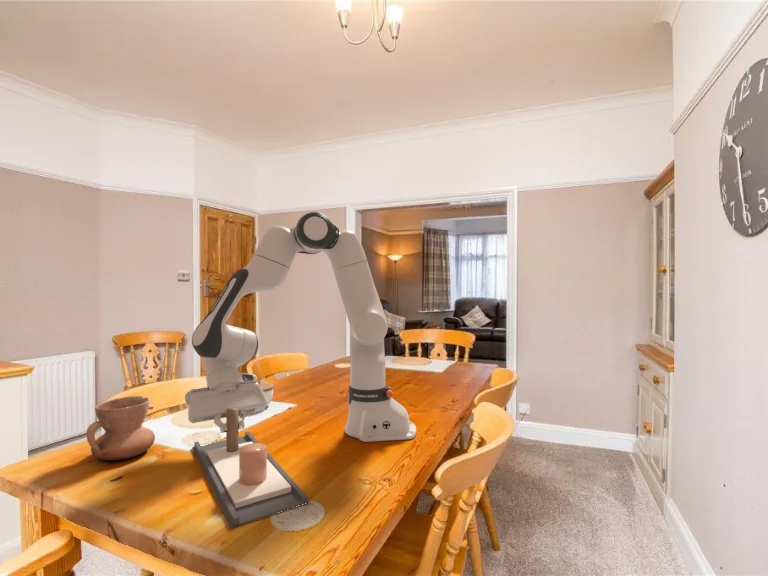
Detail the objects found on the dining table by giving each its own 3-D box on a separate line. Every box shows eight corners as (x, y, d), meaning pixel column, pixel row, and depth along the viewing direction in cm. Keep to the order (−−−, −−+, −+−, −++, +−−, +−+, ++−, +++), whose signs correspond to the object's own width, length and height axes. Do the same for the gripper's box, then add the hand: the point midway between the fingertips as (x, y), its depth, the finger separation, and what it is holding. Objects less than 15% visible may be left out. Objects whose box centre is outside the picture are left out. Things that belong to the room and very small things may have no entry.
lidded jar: (237, 408, 149) (237, 383, 148) (256, 400, 158) (256, 377, 158) (261, 412, 145) (261, 386, 144) (279, 404, 154) (279, 379, 154)
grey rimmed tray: (192, 448, 113) (192, 442, 113) (250, 436, 122) (250, 431, 122) (231, 528, 77) (231, 520, 77) (309, 503, 86) (309, 495, 86)
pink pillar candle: (269, 472, 95) (270, 443, 95) (262, 485, 89) (262, 454, 89) (244, 472, 95) (244, 443, 95) (235, 485, 89) (235, 453, 89)
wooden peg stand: (206, 455, 107) (206, 409, 107) (251, 445, 114) (251, 402, 114) (234, 508, 83) (234, 449, 82) (291, 491, 89) (291, 436, 89)
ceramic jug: (135, 438, 120) (134, 390, 120) (171, 445, 115) (169, 396, 114) (69, 464, 104) (67, 409, 103) (106, 475, 98) (104, 416, 98)
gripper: (185, 384, 108) (191, 432, 100) (261, 374, 119) (272, 416, 111) (182, 396, 112) (188, 444, 104) (257, 386, 123) (267, 428, 115)
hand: (233, 429), depth 108 cm, fingers closed on wooden peg stand, 3 cm apart
